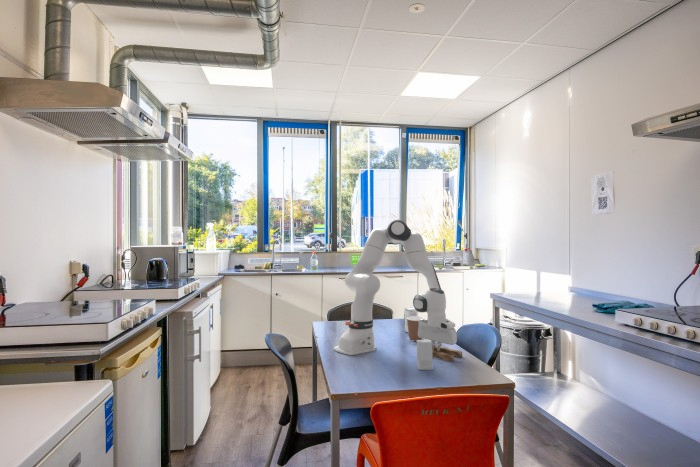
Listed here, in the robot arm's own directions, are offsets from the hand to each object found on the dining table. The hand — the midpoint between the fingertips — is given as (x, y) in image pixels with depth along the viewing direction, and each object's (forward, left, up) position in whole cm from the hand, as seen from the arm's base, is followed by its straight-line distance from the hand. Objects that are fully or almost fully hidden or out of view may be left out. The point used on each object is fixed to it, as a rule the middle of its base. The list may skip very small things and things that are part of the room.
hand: (436, 350), depth 180 cm
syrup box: (+27, +34, -2) cm, 44 cm away
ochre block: (0, +5, -2) cm, 6 cm away
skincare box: (-21, -7, -2) cm, 22 cm away
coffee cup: (+15, +22, -2) cm, 27 cm away
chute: (0, -3, -2) cm, 3 cm away
